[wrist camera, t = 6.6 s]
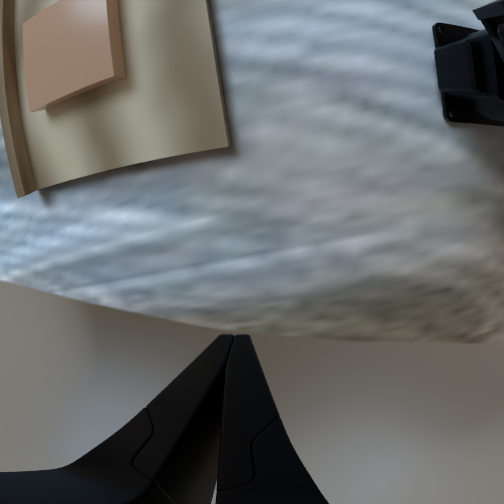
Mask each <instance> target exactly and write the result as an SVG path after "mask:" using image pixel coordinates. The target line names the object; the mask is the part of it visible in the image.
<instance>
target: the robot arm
mask: <svg viewBox="0 0 504 504" xmlns="http://www.w3.org/2000/svg"><path fill="white" fill-rule="evenodd" d="M472 11H473V12H474V14H475V15H476V17H477V18H478V20H481V22H482V24H483V25H484V27H485V29H484V30H481V31H480V30H475V29H471V28H466V27H462V26H456V25H451V24H446V23H436V24H435V25H433V27H432V30H433V36H434V41H435V47H436V49H435V51H434V54H435V61H436V68H437V76H438V85H439V89H440V90H441V93H442V105H443V115H444V118H445V119H446V120H447V121H450V122H460V123H474V124H485V125H495V126H504V0H497V1H494V2H492V3H489V4H487V5H484V6H482V7H480V8H477V9H475V10H472ZM438 27H439V28H441V29H442V31H443V33H440V32H439V30H438ZM450 111H452V112H453V116H452V117H450V115H449V112H450ZM146 407H147V408H143V409H142V410H141V411H140V412H139V413H138V414H137V415H136V416H135V417H134V418H132V419H131V420H130V421H129V422H128V423H127V424H126V425H124V426H123V427H122V428H121V429H120V430H118V431H117V432H115V434H113V435H112V436H110V437H109V438H108V439H106V440H105V441H103V442H102V443H101V444H99V445H98V446H96V447H95V448H94V449H92V450H91V451H89V452H88V453H87V454H85V455H83V456H82V457H81V458H79V459H78V460H76V461H75V462H73V463H71V464H69V465H67V466H64V467H61V468H57V469H51V470H39V471H22V472H0V504H211V501H212V497H213V493H214V489H215V485H216V481H217V493H216V504H329V503H328V502H327V500H326V499H325V497H324V496H323V495H322V493H321V492H320V490H319V489H318V487H317V485H316V484H315V482H314V481H313V479H312V478H311V476H310V474H309V473H308V471H307V470H306V468H305V467H304V465H303V463H302V462H301V460H300V458H299V457H298V455H297V453H296V451H295V449H294V448H293V446H292V444H291V442H290V439H289V437H288V435H287V433H286V430H285V428H284V425H283V423H282V420H281V418H280V416H279V413H278V410H277V408H276V405H275V402H274V400H273V397H272V395H271V392H270V389H269V386H268V384H267V381H266V378H265V376H264V373H263V370H262V367H261V365H260V362H259V359H258V357H257V354H256V351H255V348H254V346H253V343H252V340H251V337H250V335H248V334H237V335H235V336H234V335H233V334H221V335H219V336H218V337H217V338H216V339H215V340H214V341H213V342H212V343H211V344H210V345H209V346H208V347H207V348H206V349H205V350H204V351H203V352H202V353H201V354H200V355H199V356H198V357H197V358H196V359H195V360H194V361H193V362H191V363H190V364H189V365H188V366H187V367H186V368H185V369H184V370H183V371H182V372H181V373H180V374H179V375H178V376H177V377H176V378H175V379H174V380H173V381H172V382H171V383H170V384H169V385H168V386H167V387H166V388H165V389H164V390H162V391H161V393H159V394H158V395H157V396H156V397H155V398H154V399H153V400H152V401H151V402H150V403H149V404H148V405H147V406H146Z"/></svg>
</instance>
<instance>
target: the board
mask: <svg viewBox="0 0 504 504" xmlns="http://www.w3.org/2000/svg"><path fill="white" fill-rule="evenodd" d="M57 1H59V0H0V117H1V124H2V130H3V136H4V141H5V147H6V152H7V157H8V161H9V166H10V170H11V174H12V178H13V182H14V186H15V190H16V194H17V197H18V198H20V197H23V196H26V195H28V194H30V193H32V192H34V191H36V190H39V189H42V188H45V187H48V186H52V185H55V184H58V183H62V182H65V181H69V180H72V179H76V178H80V177H83V176H87V175H91V174H95V173H99V172H103V171H107V170H111V169H115V168H119V167H124V166H128V165H132V164H137V163H142V162H146V161H151V160H156V159H161V158H166V157H171V156H176V155H182V154H187V153H193V152H199V151H205V150H211V149H218V148H224V147H229V146H230V145H231V139H230V133H229V127H228V120H227V114H226V108H225V101H224V95H223V88H222V82H221V76H220V69H219V63H218V56H217V50H216V43H215V37H214V30H213V24H212V18H211V11H210V5H209V0H118V12H119V22H120V32H121V41H122V49H123V57H124V64H125V71H126V77H125V78H122V79H119V80H116V81H113V82H110V83H108V84H105V85H102V86H99V87H97V88H94V89H92V90H89V91H87V92H84V93H82V94H79V95H77V96H74V97H72V98H70V99H67V100H65V101H63V102H61V103H58V104H56V105H54V106H52V107H50V108H48V109H45V110H42V111H36V112H30V110H29V103H28V95H27V87H26V77H25V66H24V52H23V23H24V22H26V21H27V20H29V19H30V18H32V17H33V16H35V15H36V14H38V13H39V12H41V11H42V10H44V9H46V8H47V7H49V6H51V5H52V4H54V3H56V2H57Z"/></svg>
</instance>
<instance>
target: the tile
mask: <svg viewBox="0 0 504 504" xmlns="http://www.w3.org/2000/svg"><path fill="white" fill-rule="evenodd" d="M23 52H24V66H25V77H26V87H27V95H28V103H29V110H30V112H36V111H42V110H45V109H48V108H50V107H52V106H54V105H56V104H58V103H61V102H63V101H65V100H67V99H70V98H72V97H74V96H77V95H79V94H82V93H84V92H87V91H89V90H92V89H94V88H97V87H99V86H102V85H105V84H108V83H110V82H113V81H116V80H119V79H122V78H125V77H126V71H125V64H124V57H123V49H122V41H121V32H120V22H119V12H118V0H59V1H57V2H56V3H54V4H52V5H51V6H49V7H47V8H46V9H44V10H42V11H41V12H39V13H38V14H36V15H35V16H33V17H32V18H30V19H29V20H27V21H26V22H24V23H23Z"/></svg>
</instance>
